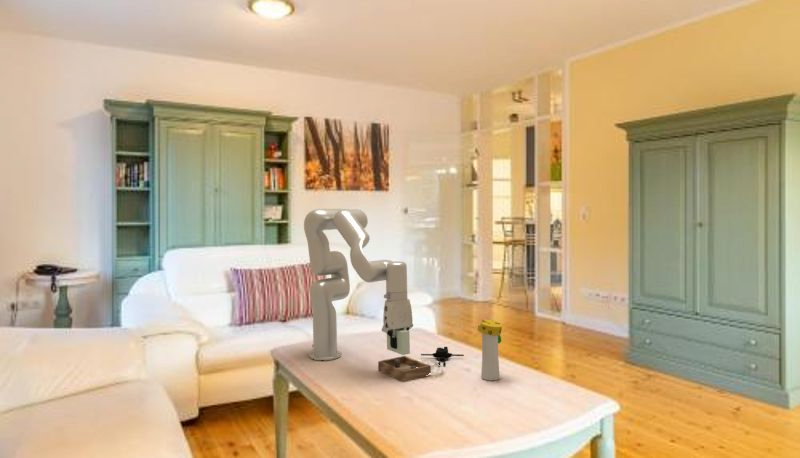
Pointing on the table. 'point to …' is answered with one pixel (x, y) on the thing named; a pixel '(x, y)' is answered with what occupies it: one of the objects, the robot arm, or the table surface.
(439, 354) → the toy
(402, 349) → the light green rectangular block
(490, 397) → the table surface
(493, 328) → the toy
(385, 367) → the brown wooden shallow tray
